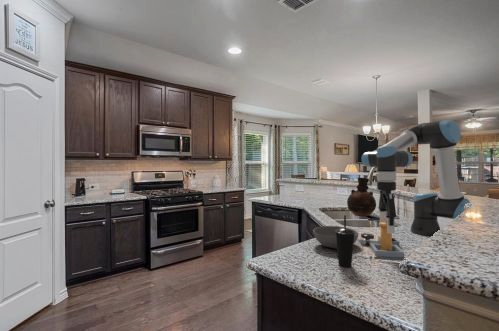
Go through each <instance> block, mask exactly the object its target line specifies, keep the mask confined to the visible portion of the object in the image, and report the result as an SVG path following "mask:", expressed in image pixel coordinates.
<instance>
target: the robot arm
mask: <svg viewBox="0 0 499 331" xmlns="http://www.w3.org/2000/svg"><path fill="white" fill-rule="evenodd" d="M461 136H462V133H461V129H460V126H459V125H458V123H456V121H454V120H451V119H449V120H445V119H444V120H436V121H431V122H430V121H429V122H421V123H418V124H416V125H413V126H411V127H409V128H407V129H405V130H404V131H402V132H401V133H400V134H399V136H397V137H395V138H393V139H392V140H391V141H389V142H387V143H386V144H384V145H381V146H378V147H377V148H376V149H375V150H372V151H367V152H364V153H363V154H362V155H361V164H362V166H363V167H368V168H369V167H370V168H376V173H375V176H376V177H377V178H376V180H377V182H376V189H377V190H378V191H379V200H378V206H377V208H378V210H379V223H380V222H387V233H392V234H396V232H395V231H396V229H395V228H396V225H395V223H396V222H395V221H396V220H395V218H397V212H396V205H395V194H394V193H392V192H394V191H396V190H397V182H396V181H397V170H396V169H397V168H407V167H409V166H411V165H412V163H413V161H414V157H413V154H412V153H411V152H410V151H407V150H406V149H408V148H413V147H415V146H419V145H429V149H430V150H432V151H433V153H434V159H435V166H436V172H437V173H436V174H437V180H438V185H439V186H438V187H439V193H435V192H434V193H433V192H432V193H430V192H429V193H417V194H415V195H414V198H413V221H412V222H411V225H410V232H411V233H412V234H413V233H414V234H416V235H422V236H423V235H424V236H429V237H430V236H432V235H433V234H434V233H435V232H437V231H438V230H440V229H441V227H440V224H439V221H438V218H442V219H443V218H444V219H449V220H454V219H455V218H456V217H457V216H458V215H460V214H461V213H462V212H463V211H464V206H465V204H467V203H470V204H471V200H469V198H466V197H465V195H464V192H461V190H460V185H459V184H460V183H459V178H458V171H457V164H456V157H455V156H456V155H455V147H456V146H457V144H458V143H459V142H460V140H461ZM455 220H456V219H455Z"/></svg>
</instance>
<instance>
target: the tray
mask: <svg viewBox="0 0 499 331" xmlns="http://www.w3.org/2000/svg"><path fill="white" fill-rule="evenodd" d="M369 248H370V250H371V251H372V253H373V255H374V256H373V258H374V259H375V260H380V261H381V260H382V261H383V260H384V261H395V262H397V261H399V262H403V261H402V260H403V259H405V251H403V249H400V248H399V247H398V246H397V245H392V251H385V250H381V244H372V243H370V247H369Z"/></svg>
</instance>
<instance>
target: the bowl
mask: <svg viewBox="0 0 499 331" xmlns="http://www.w3.org/2000/svg"><path fill="white" fill-rule="evenodd" d="M340 228H344V226H336V225H335V226H334V225H331V226H330V225H329V226H328V225H324V226H317V227H315V228H313V230H312V233H313V236H314V238H315V239H316V241H317V242H318V243H320V245H322V246H323V247H327V248H329V249H336V250H337V240H336V233H335V230H337V229H340ZM347 228H348V229H351V230H353V231H355V234H354V244H355V243H356V242H357V241H358V240H359V239H358V238H359V232H358V231H357V230H355V229H352V228H349V227H347Z"/></svg>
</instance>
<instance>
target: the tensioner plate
mask: <svg viewBox="0 0 499 331" xmlns="http://www.w3.org/2000/svg"><path fill="white" fill-rule="evenodd" d="M360 238H361V239H357V241H358V243H359V244H360V246H361V247H362V248H370V243H372V244H381V236H378V237H377V239H378V240H374V239H375V235H374V234H372V233H367V232H366V233H361V234H360ZM392 245H397V246H398V247H399V248H400V249H401V250H404V248H403V246H401V245H400V241H399V240H398V239H396V238H395V237H392Z"/></svg>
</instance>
